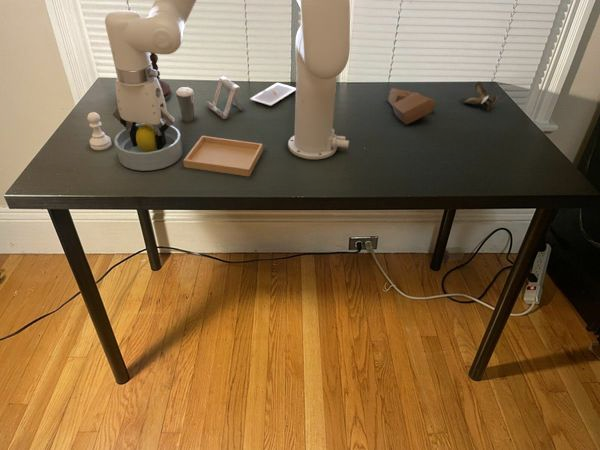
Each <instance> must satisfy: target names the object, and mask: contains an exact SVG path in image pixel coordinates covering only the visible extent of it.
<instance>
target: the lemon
mask: <svg viewBox="0 0 600 450" xmlns="http://www.w3.org/2000/svg"><path fill="white" fill-rule="evenodd" d="M155 135H156V132H155V130H154V128H153V126H151V125H147V124H144V125H142V126H140V127H139V128H138V130H137V132H136V142H137V145H138V147H139V148H140V149H141V150H142V151H143V152H153V151H157V150H158V149H157V145H156V140H155Z"/></svg>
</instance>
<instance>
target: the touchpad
mask: <svg viewBox="0 0 600 450" xmlns="http://www.w3.org/2000/svg"><path fill="white" fill-rule="evenodd" d="M293 92H296V86H295V87H294V86H290V85H287V84H285V83H280V82H276V83H274V84H272V85H270V86H269V87H267V88H266V89H264V90H262V91H260V92H258V93H256V94H255V95H253V96H251V97H250V98H249V100H251V101H254V102H258V103H261V104H264V105H267V106H273V105H274V104H276V103H278V102H279V101H280V100H283V99H285V98H286V97H288V96H289V95H290V94H292V93H293Z"/></svg>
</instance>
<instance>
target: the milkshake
mask: <svg viewBox="0 0 600 450" xmlns="http://www.w3.org/2000/svg"><path fill="white" fill-rule="evenodd" d="M195 89H196V86H194V87H193V89H192V88H191V87H188V86H181V87H179V88H178V89H177V90H176V92H175V95H176V97H177V101H178V106H179V109H180V114H181V115H180V116H181V120H182V121H183V122H185V123H191V122H193V121H195V100H194V99H195V97H194V94H195V93H194V92H195Z"/></svg>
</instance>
